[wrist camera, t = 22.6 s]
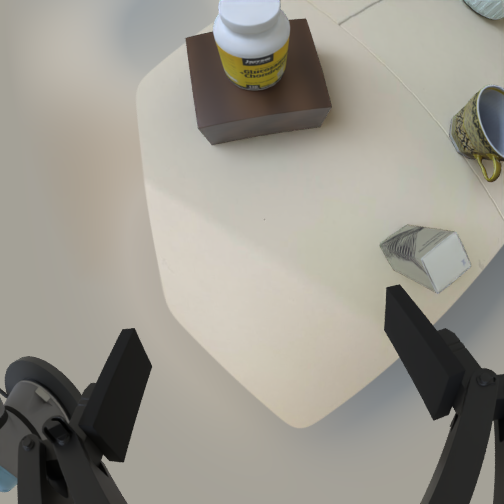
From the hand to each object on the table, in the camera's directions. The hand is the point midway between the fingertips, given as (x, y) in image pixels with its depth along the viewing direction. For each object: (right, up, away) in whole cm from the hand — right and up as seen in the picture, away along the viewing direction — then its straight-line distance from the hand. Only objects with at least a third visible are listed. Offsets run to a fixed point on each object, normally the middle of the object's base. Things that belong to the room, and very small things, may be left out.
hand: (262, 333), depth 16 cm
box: (+19, +5, +23) cm, 30 cm away
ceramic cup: (+30, +20, +21) cm, 42 cm away
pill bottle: (0, +24, +14) cm, 28 cm away
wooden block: (0, +25, +22) cm, 33 cm away
